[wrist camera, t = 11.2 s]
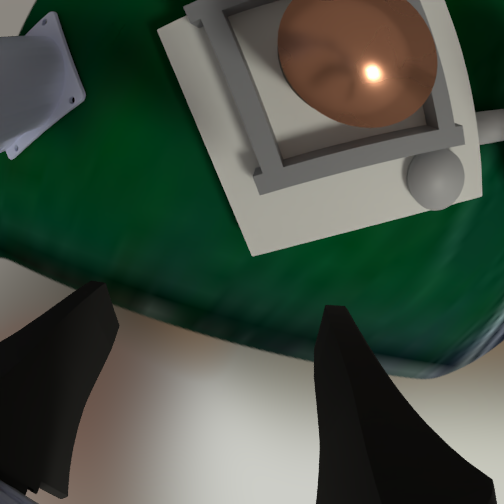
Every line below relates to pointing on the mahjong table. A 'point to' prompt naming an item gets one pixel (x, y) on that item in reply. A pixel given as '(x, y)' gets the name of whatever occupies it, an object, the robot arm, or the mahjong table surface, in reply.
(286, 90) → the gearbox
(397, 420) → the robot arm
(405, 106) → the spout can
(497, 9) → the mahjong table surface
